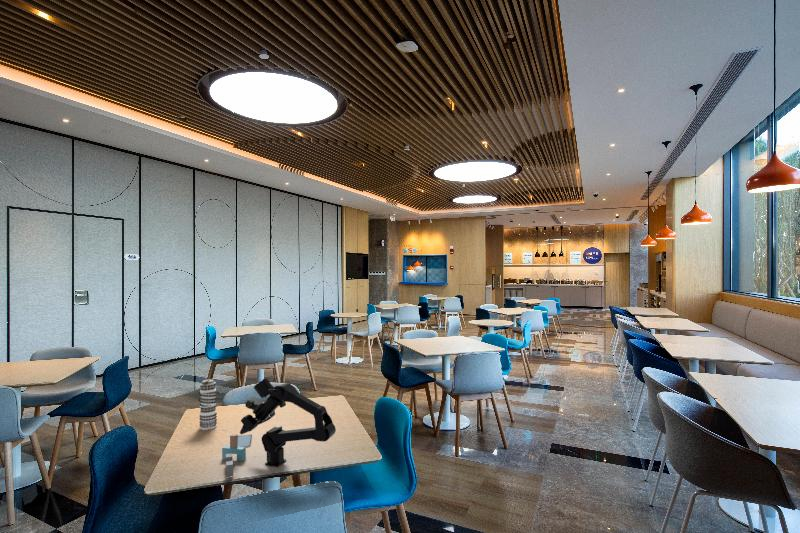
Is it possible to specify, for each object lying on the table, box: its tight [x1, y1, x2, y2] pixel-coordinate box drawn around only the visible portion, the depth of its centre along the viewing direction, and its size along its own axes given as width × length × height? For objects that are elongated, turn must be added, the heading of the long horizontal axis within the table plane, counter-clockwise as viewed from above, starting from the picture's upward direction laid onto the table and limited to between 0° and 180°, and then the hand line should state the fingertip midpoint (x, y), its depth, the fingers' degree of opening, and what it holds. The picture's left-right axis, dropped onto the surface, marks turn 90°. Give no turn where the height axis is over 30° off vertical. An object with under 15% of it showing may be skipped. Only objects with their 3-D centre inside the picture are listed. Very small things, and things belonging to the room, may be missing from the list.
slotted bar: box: [225, 453, 234, 478], centre depth 174 cm, size 12×2×5 cm, turn 23°
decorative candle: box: [198, 378, 218, 431], centre depth 227 cm, size 9×9×25 cm
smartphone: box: [238, 433, 253, 448], centre depth 206 cm, size 7×1×15 cm
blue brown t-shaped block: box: [221, 433, 247, 462], centre depth 186 cm, size 10×2×10 cm, turn 77°
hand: (246, 429), depth 185 cm, fingers open, 9 cm apart
